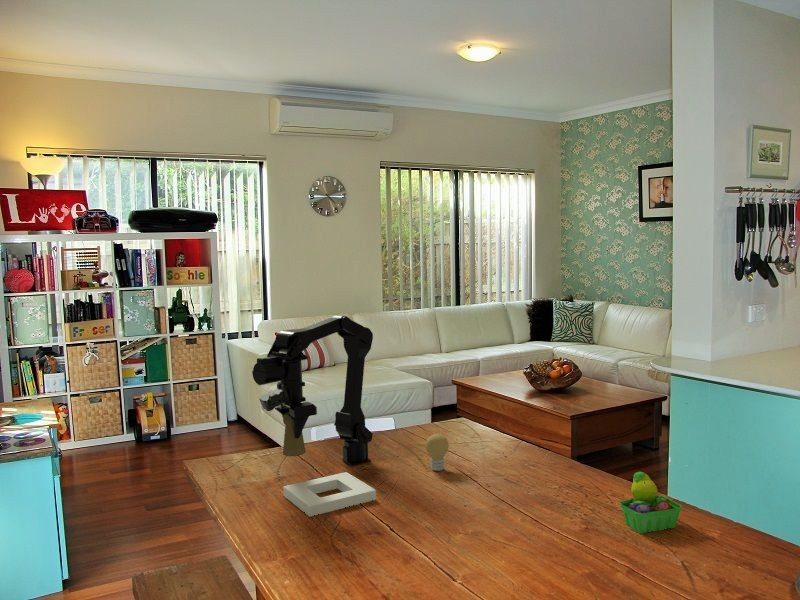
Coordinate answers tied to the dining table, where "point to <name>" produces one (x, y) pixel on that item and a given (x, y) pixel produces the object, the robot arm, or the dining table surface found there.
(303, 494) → the socket board
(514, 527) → the dining table surface
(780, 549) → the dining table surface
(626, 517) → the fruit basket
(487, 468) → the dining table surface
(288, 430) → the olive green peg
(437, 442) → the light bulb
